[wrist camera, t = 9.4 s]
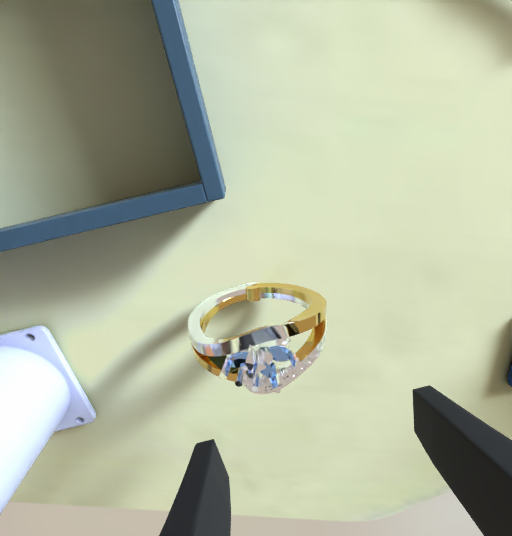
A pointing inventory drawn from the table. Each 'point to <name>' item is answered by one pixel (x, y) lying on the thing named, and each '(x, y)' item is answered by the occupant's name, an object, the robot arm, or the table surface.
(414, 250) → the table surface
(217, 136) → the table surface
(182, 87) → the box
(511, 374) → the cell phone
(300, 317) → the ring
